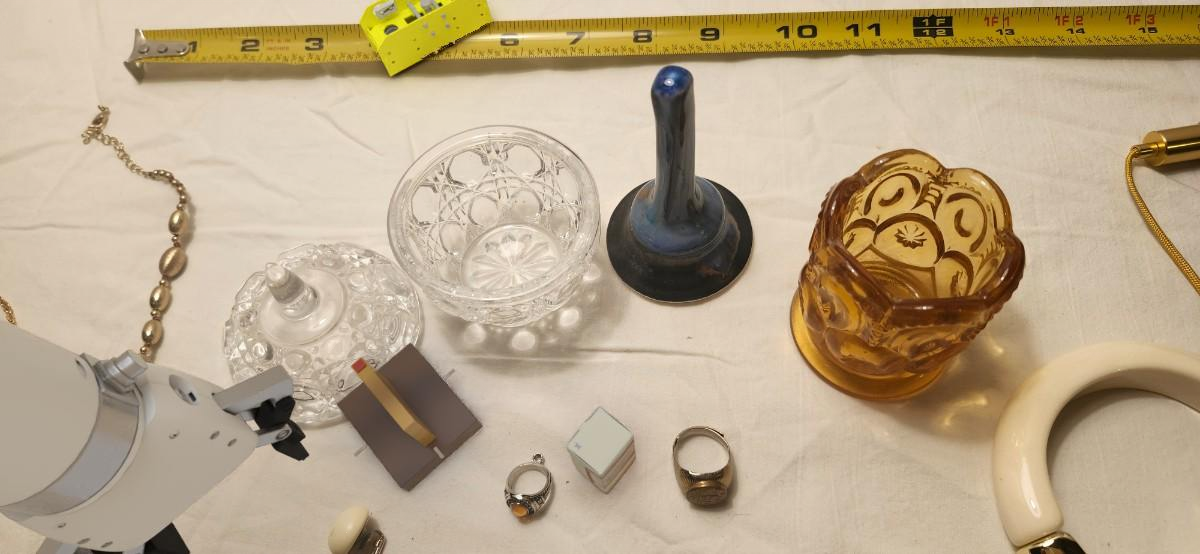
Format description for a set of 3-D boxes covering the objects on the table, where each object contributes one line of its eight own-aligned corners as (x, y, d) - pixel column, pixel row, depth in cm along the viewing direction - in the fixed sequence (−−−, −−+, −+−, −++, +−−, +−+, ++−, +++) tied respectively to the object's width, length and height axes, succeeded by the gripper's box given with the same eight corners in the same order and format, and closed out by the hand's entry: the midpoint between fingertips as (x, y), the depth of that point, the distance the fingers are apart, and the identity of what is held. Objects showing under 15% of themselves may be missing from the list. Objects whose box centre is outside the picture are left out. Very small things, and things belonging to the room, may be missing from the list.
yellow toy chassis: (475, 2, 105) (460, -46, 98) (495, 26, 103) (481, -21, 96) (376, 55, 103) (352, 10, 95) (393, 81, 101) (370, 37, 93)
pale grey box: (607, 496, 75) (598, 478, 66) (574, 468, 76) (561, 447, 67) (640, 456, 76) (635, 433, 67) (607, 429, 78) (598, 403, 68)
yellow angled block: (436, 437, 76) (414, 419, 70) (425, 447, 76) (402, 430, 69) (386, 378, 80) (360, 355, 73) (375, 386, 79) (349, 365, 73)
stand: (498, 419, 79) (492, 413, 77) (399, 507, 76) (390, 503, 74) (425, 336, 84) (418, 328, 82) (330, 416, 81) (319, 409, 79)
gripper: (170, 270, 39) (311, 371, 55) (-144, 501, 35) (104, 539, 51) (239, 367, 37) (368, 444, 52) (-92, 629, 33) (153, 628, 48)
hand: (237, 491), depth 51 cm, fingers open, 9 cm apart
